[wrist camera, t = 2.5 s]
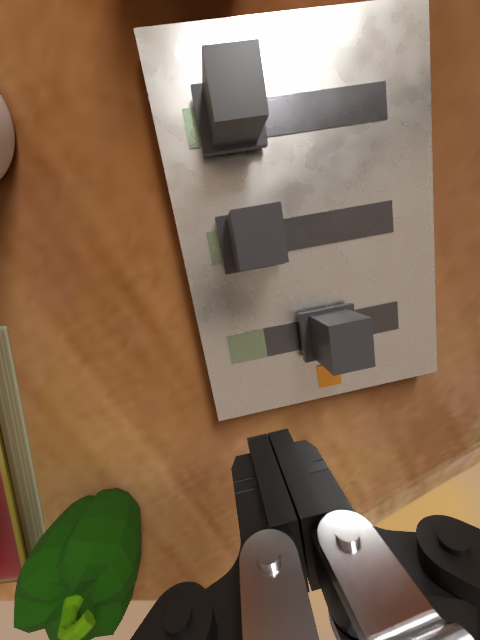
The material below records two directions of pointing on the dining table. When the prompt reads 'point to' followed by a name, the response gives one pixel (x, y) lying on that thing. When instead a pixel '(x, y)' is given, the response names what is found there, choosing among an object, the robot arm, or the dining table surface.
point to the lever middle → (252, 238)
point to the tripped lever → (337, 338)
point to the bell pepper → (82, 569)
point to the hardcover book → (15, 475)
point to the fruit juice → (6, 138)
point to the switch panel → (308, 194)
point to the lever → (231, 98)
